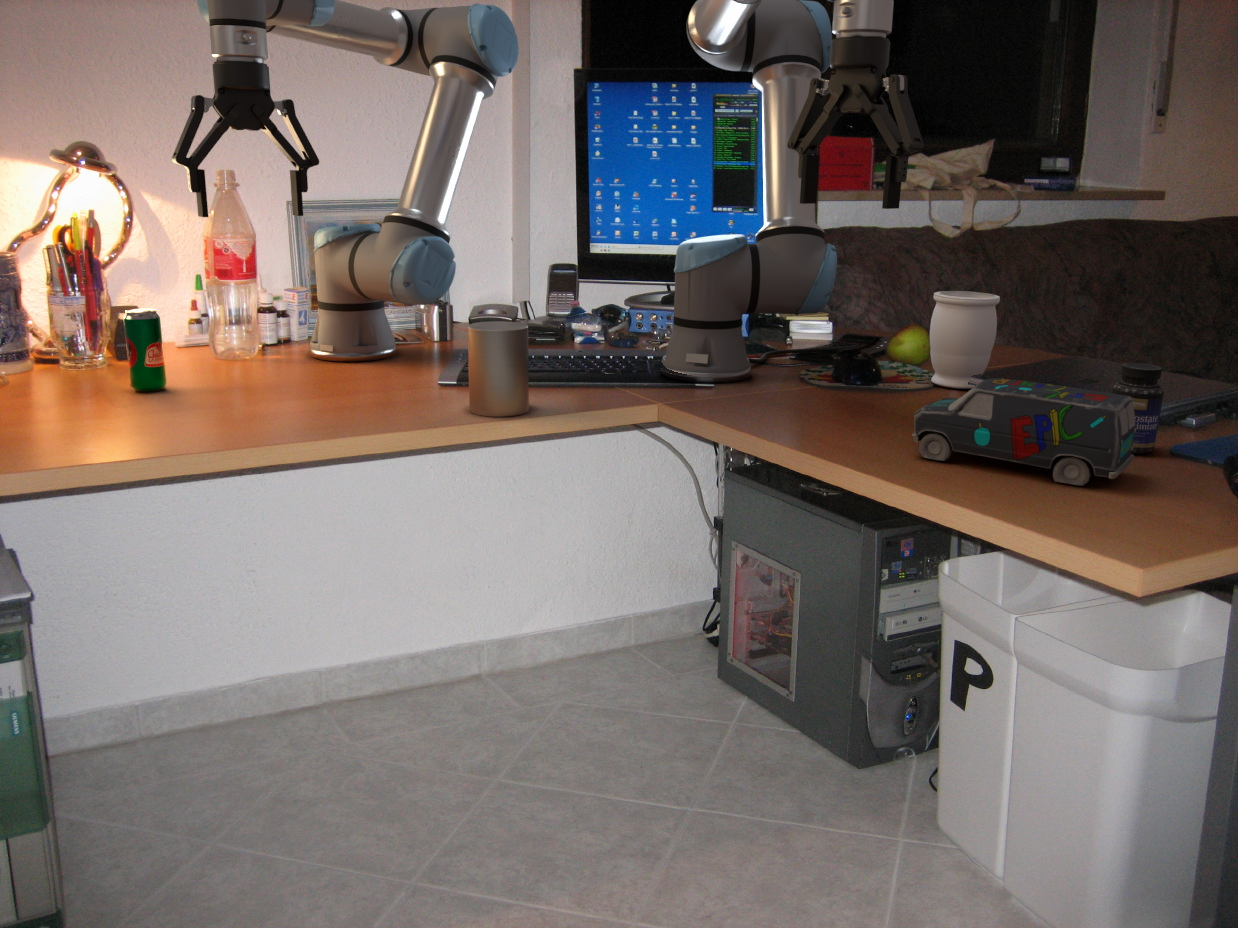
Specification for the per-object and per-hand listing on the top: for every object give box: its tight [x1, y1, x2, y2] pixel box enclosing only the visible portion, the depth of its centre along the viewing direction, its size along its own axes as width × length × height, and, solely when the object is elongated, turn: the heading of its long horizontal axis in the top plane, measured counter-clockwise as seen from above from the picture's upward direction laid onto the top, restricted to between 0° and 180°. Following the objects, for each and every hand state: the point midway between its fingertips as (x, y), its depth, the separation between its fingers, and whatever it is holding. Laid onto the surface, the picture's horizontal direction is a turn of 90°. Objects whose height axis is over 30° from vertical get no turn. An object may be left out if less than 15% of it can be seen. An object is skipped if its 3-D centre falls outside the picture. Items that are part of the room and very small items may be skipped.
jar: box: [929, 290, 1001, 390], centre depth 176 cm, size 11×10×15 cm
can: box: [467, 320, 530, 418], centre depth 154 cm, size 9×9×12 cm
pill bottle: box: [1111, 362, 1165, 455], centre depth 139 cm, size 6×6×11 cm
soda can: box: [123, 308, 168, 392], centre depth 162 cm, size 5×5×12 cm
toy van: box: [911, 377, 1136, 487], centre depth 131 cm, size 11×25×10 cm, turn 54°
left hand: (251, 216), depth 156 cm, fingers open, 13 cm apart
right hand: (847, 206), depth 144 cm, fingers open, 13 cm apart
